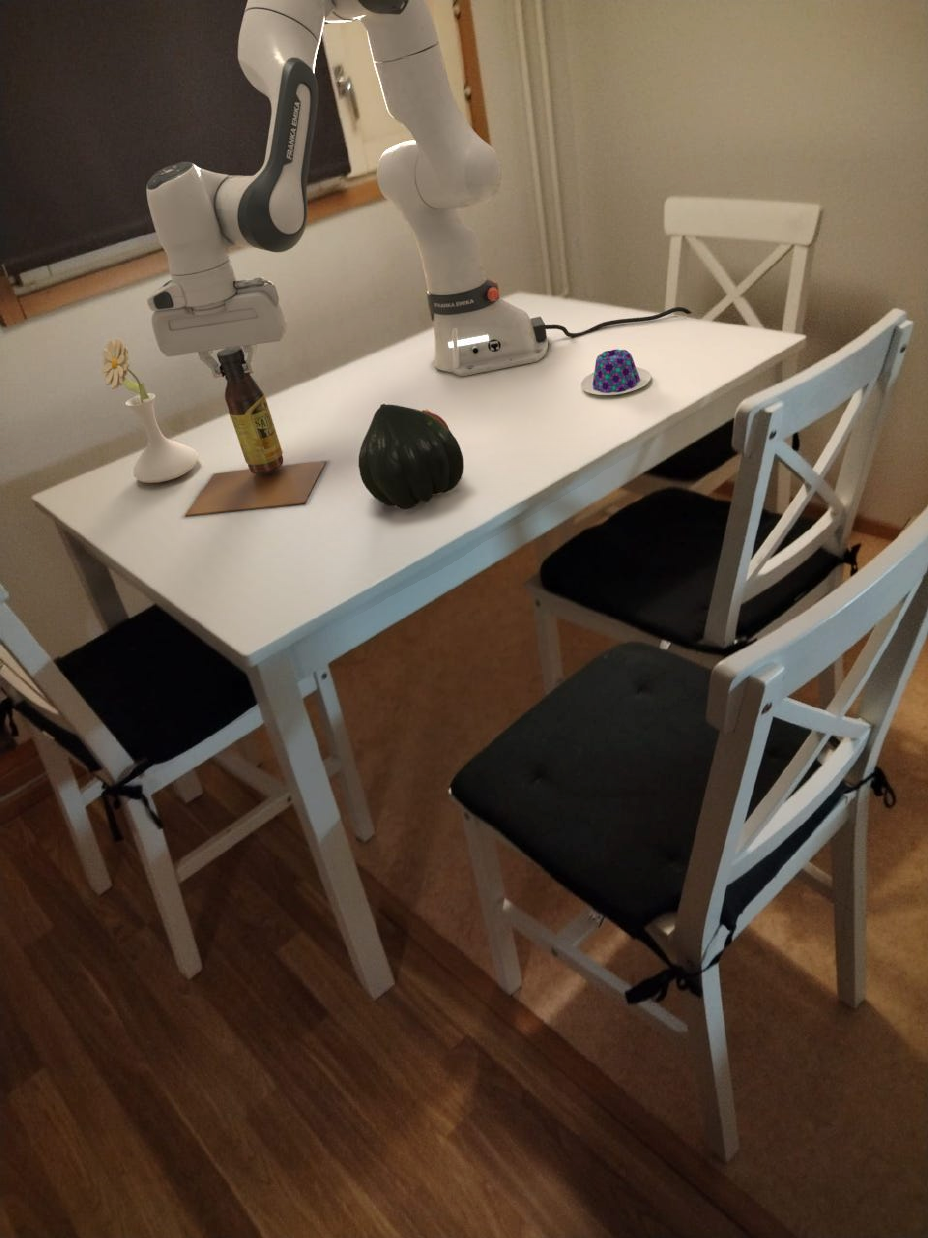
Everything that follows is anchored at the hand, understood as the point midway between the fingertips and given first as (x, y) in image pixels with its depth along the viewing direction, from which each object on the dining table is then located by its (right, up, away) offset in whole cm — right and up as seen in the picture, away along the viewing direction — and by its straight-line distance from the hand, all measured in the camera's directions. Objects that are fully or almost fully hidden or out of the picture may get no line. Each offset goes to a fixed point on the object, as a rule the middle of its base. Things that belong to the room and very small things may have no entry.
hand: (235, 374), depth 146 cm
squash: (+29, -20, -7) cm, 36 cm away
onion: (+31, -12, +3) cm, 34 cm away
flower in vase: (-15, -13, +16) cm, 26 cm away
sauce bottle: (+3, -13, +9) cm, 16 cm away
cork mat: (+2, -17, +5) cm, 18 cm away
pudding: (+62, +2, +14) cm, 64 cm away
